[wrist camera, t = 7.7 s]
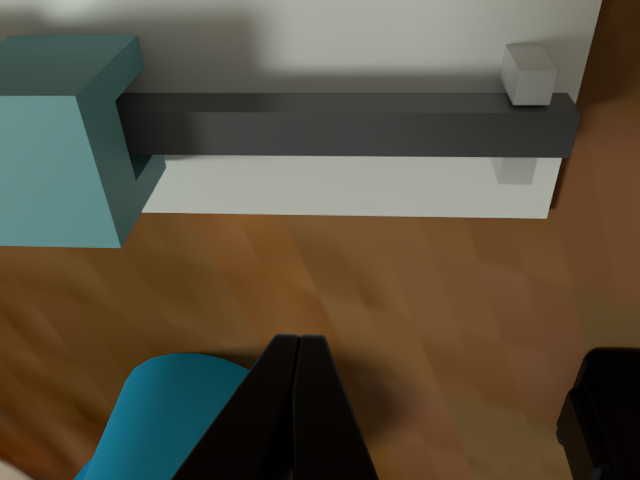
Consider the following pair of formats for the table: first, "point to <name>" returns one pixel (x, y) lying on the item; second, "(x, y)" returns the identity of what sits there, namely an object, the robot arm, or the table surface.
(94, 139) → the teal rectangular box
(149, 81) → the sliding vise on plate
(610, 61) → the table surface
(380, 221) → the table surface
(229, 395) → the mug
